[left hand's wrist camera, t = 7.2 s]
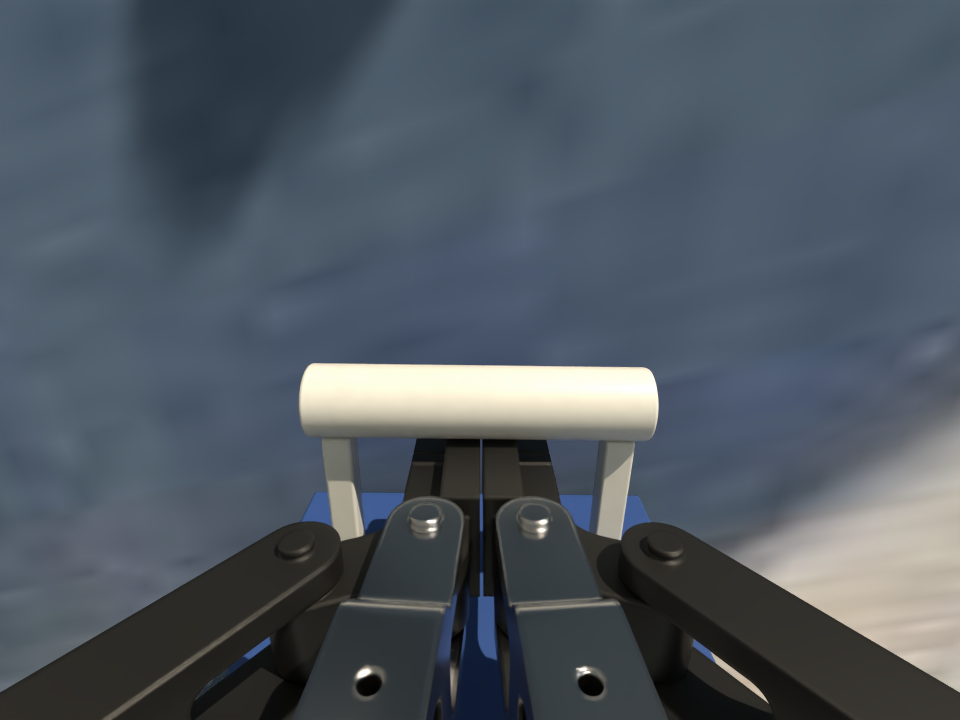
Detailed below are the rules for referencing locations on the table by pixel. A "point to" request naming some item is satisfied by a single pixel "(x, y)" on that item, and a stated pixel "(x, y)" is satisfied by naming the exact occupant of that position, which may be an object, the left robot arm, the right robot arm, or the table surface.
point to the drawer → (476, 415)
